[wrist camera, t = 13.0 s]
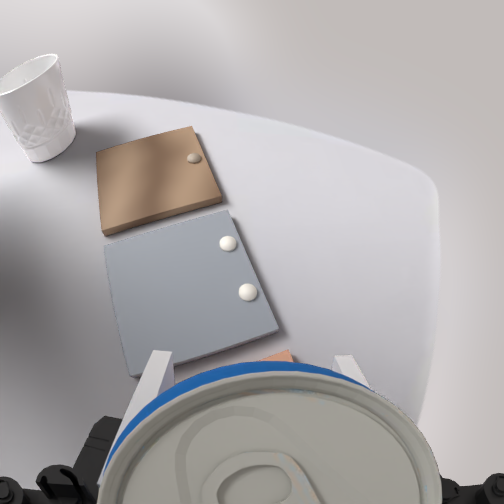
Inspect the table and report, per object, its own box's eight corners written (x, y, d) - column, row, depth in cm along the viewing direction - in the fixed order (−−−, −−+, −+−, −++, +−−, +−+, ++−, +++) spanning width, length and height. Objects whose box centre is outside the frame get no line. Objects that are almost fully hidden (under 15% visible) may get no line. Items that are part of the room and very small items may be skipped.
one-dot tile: (104, 236, 24) (100, 229, 23) (98, 158, 28) (95, 150, 27) (221, 202, 26) (221, 194, 25) (192, 132, 30) (191, 124, 30)
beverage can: (214, 530, 11) (189, 678, 1) (162, 426, 14) (20, 412, 4) (329, 481, 13) (492, 539, 2) (277, 381, 16) (366, 282, 5)
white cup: (15, 153, 29) (-16, 89, 20) (62, 116, 32) (42, 51, 24) (38, 176, 27) (1, 102, 18) (93, 133, 30) (70, 57, 22)
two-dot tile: (133, 377, 18) (128, 375, 17) (106, 251, 23) (102, 244, 22) (277, 331, 21) (279, 327, 20) (227, 215, 25) (227, 208, 24)
